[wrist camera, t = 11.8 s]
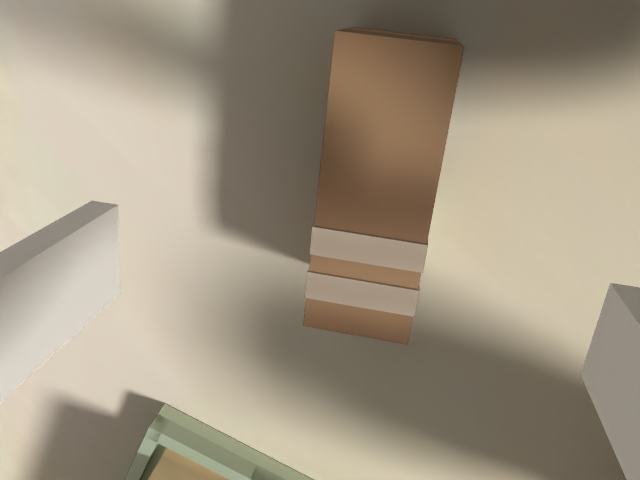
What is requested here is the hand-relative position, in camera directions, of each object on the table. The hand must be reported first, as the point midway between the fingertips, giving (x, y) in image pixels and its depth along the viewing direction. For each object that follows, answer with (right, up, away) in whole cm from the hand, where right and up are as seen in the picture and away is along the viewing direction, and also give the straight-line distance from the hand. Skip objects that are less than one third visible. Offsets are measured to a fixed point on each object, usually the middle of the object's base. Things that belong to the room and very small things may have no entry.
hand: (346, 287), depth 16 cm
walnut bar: (+2, +5, +12) cm, 14 cm away
